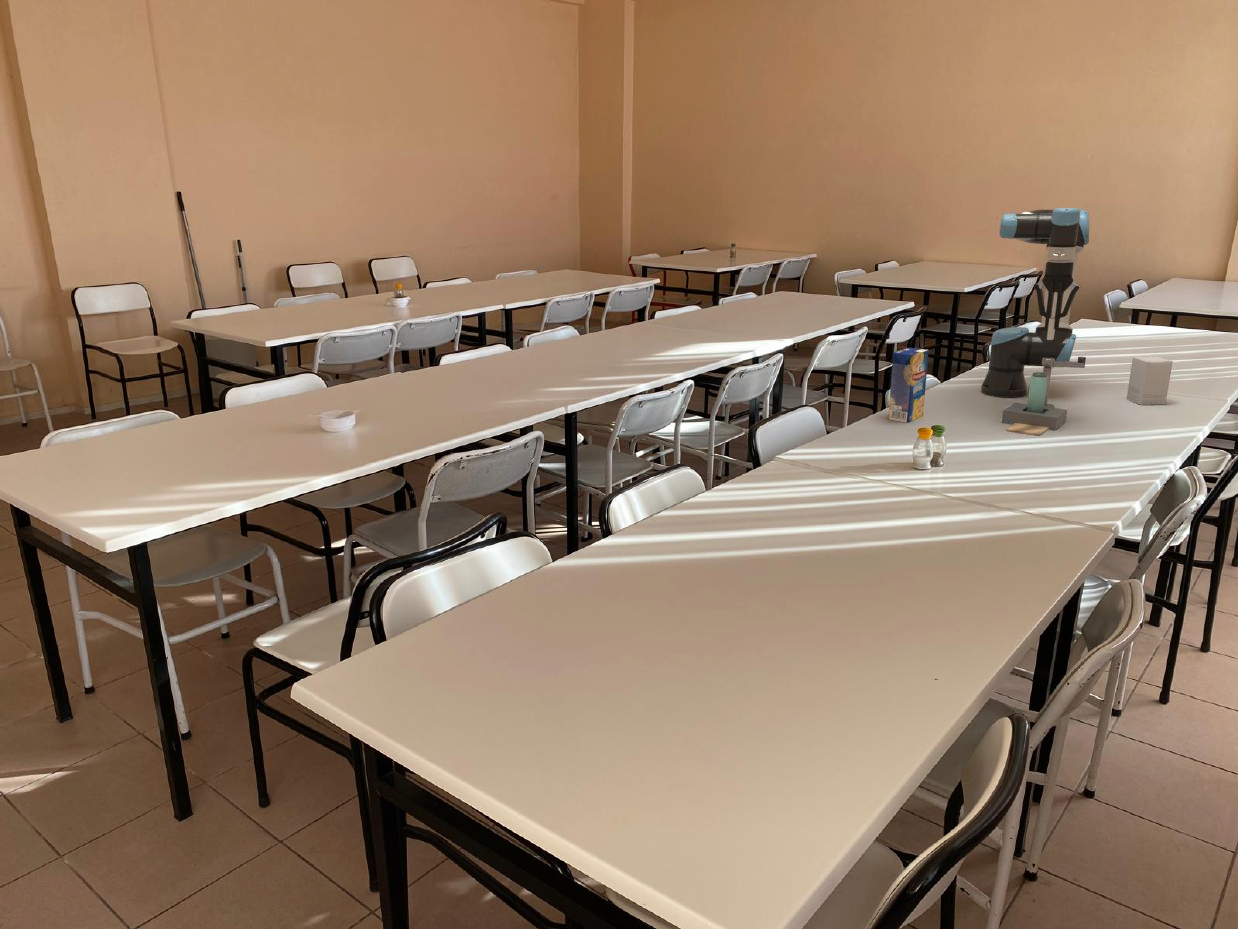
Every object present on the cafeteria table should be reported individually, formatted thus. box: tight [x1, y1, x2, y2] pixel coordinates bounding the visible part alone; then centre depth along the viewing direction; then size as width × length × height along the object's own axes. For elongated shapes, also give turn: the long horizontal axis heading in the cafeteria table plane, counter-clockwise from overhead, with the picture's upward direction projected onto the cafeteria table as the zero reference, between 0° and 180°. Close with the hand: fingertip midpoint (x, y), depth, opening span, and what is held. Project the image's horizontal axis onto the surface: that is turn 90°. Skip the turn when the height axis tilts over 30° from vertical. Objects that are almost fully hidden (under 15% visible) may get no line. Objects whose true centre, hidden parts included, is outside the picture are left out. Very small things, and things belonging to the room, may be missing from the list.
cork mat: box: [1005, 423, 1049, 437], centre depth 275 cm, size 10×10×1 cm
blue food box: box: [887, 347, 929, 423], centre depth 288 cm, size 7×11×22 cm, turn 137°
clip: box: [1041, 356, 1087, 369], centre depth 282 cm, size 12×4×3 cm, turn 71°
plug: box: [1027, 371, 1048, 414], centre depth 280 cm, size 5×5×16 cm
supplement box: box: [1126, 355, 1173, 406], centre depth 301 cm, size 9×9×15 cm
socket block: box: [1001, 367, 1068, 431], centre depth 282 cm, size 16×16×16 cm
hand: (1050, 339), depth 274 cm, fingers closed
